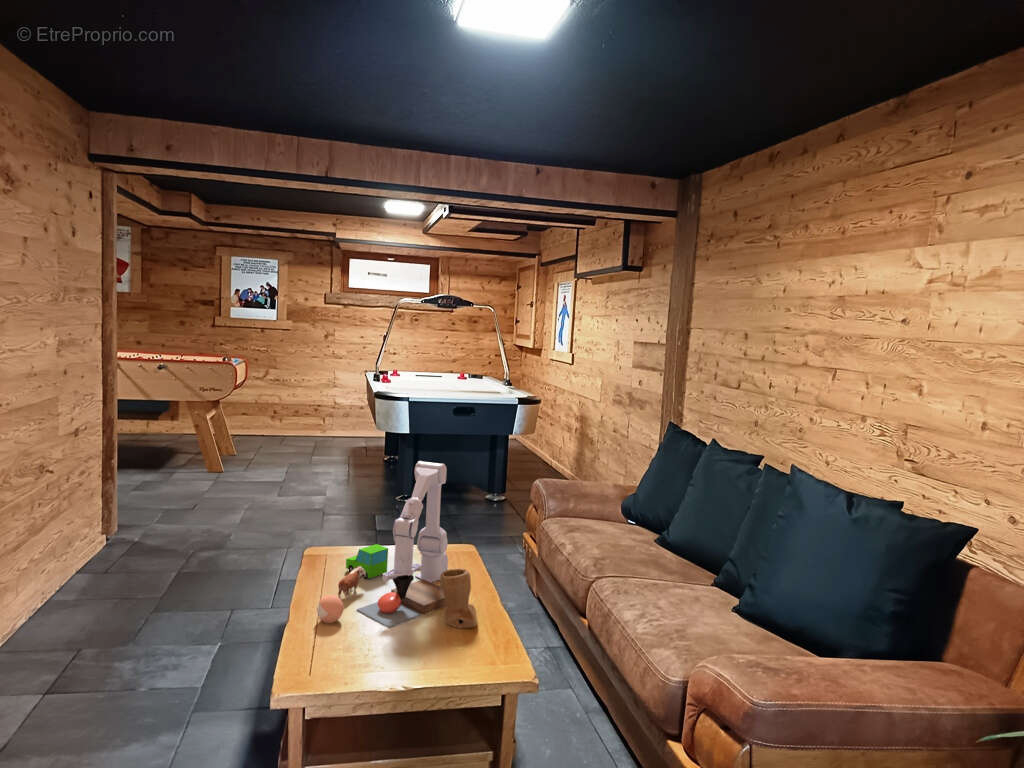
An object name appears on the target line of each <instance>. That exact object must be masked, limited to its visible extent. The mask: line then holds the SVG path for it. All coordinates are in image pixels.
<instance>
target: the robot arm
mask: <svg viewBox="0 0 1024 768" xmlns="http://www.w3.org/2000/svg"><path fill="white" fill-rule="evenodd" d="M414 479H415V481H416V482H415V484H414V487H413V491H412V494H411V497H410V498H408V499H407V500H405V504H404V506H403V509H402V511H401V514H400V516H399V518H397V519H395V521H394V523H393V528H392V534H393V542H394V544H395V545H394V563H393V565H394V566H393V568H391V569H390V570H389V571H388V570H387V572H386V573H383V574H382V580H383V581H384V582H387V583H388V582H390V580H392V581H393V584H394V586H395V588H396V589H397V593H398V594H399V596H400V598H401V599H403V598H405V596H406V593H407V590H408V587H409V585H410V583H413V582H412V581H414V577H415V578H417V579H419V580H422V579H424V580H426V581H429V582H431V583H434V582H437V581H441V579H440V577H441V574H442V573H443V572H444V571H446V570H448V568H449V565H448V564H449V558H448V554H447V553H446V551H447V549H448V543H449V542H448V537H447V535H448V534H447V532H446V530H445V529H444V528H442V527H441V526H440V520H441V518H440V516H441V499H442V498H441V497H442V496H441V495H442V485H444V484H446V483H447V482H446V481H447V466H446V465H445V463H438V462H429V461H422V460H419V461H417V463H416V464H415V467H414ZM425 496H426V509H425V510H426V511H425V513H426V515H425V526H424V527H423V528H422V529H420V531H419V533H418V526H419V519H420V516H421V513H422V511H423V509H424V504H423V503H422V501H423V500H424V498H425ZM417 533H418V538H417V542H416V547H417V550H418V551H419V554H420V555H421V558H420V563H418V562H417V563H414V540H415V537H416V536H417ZM415 572H420V573H419V574H418V573H417V574H415V575H414V573H415Z"/></svg>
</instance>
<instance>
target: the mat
mask: <svg viewBox="0 0 1024 768" xmlns="http://www.w3.org/2000/svg"><path fill="white" fill-rule="evenodd" d="M356 611H357V612H359V613H361V614H362V615H364V616H366V617H368V618H370V619H372V620H373V621H375V622H377V623H379V624H381V625H382V626H384V627H387V629H390V628H393V627H396V626H399V625H401V624H404V623H406V622H409V621H412V620H414V619H416V617H417V618H419V617H422V616H423V615H422V614H421V613H419V612H417V611H415V610H413V609H411V608H409V607H407V606H405V605H403V604H401V606H400V607H399V608H398V609H397V610H396V611H394V612H392V613H389V614H384V613H382V612H381V611H380V609H379V607H378V601H376V602H373V603H371V604H370V603H369V604H367V605H365V606H362V607H359V608H356ZM421 615H422V616H421ZM418 616H419V617H418ZM411 619H412V620H411ZM403 622H404V623H403Z"/></svg>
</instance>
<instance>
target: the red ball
mask: <svg viewBox="0 0 1024 768" xmlns="http://www.w3.org/2000/svg"><path fill="white" fill-rule="evenodd" d="M377 602H378V607H379V609H380V611H381V612H382V613H384V614H389V613H392V612H394V611H396V610H397V609H398V608H399V607H400V606H401V599H400V596H399V594H398V593H396V592H391V591H390V592H387V593H385V594H383V595H382V596H380V598H379V599H378V601H377Z"/></svg>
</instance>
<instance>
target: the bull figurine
mask: <svg viewBox="0 0 1024 768" xmlns="http://www.w3.org/2000/svg"><path fill="white" fill-rule="evenodd" d="M362 574H366V572H365V571H364V569H363V568H362V567H361V566H359V567H355V569H354V570H353V571H352V572H348V574H347V575H345V576H344V577H343V578H342V579H341V580H339V582H338V587H337V588H338V593H337V595H338V596H337V597H339V598H340V599H341V600H342V598H341V595H342V593H343V595H344V597H345V598H347V600H352V597H351V596H350V592H353V594H355V595H356V594H358V593H357V587H358V585H359V582H360V577H361V576H363V575H362Z"/></svg>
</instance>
